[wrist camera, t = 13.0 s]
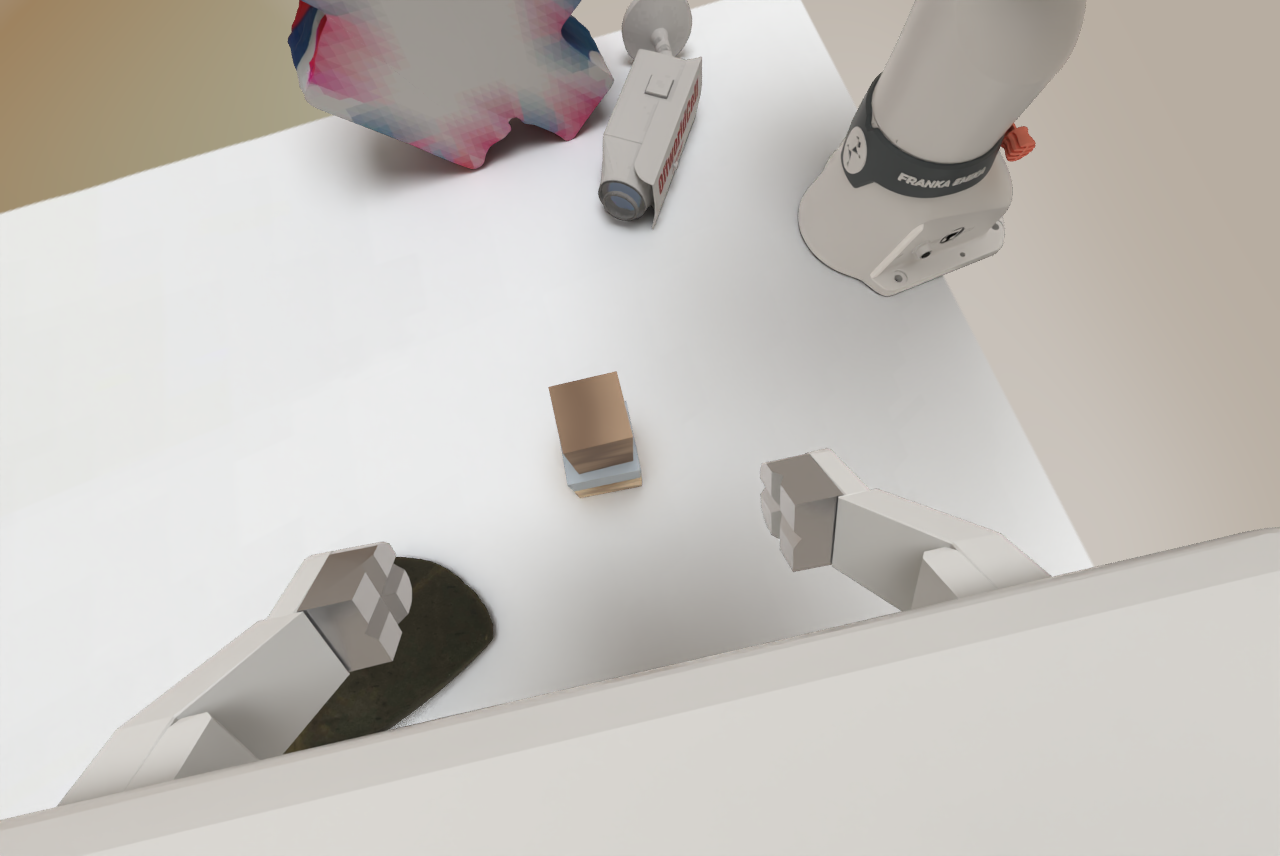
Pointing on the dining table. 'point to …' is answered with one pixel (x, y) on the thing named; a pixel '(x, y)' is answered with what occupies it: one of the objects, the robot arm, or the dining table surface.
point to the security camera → (650, 109)
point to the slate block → (603, 471)
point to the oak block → (610, 488)
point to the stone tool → (407, 659)
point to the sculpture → (449, 69)
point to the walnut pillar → (592, 422)
